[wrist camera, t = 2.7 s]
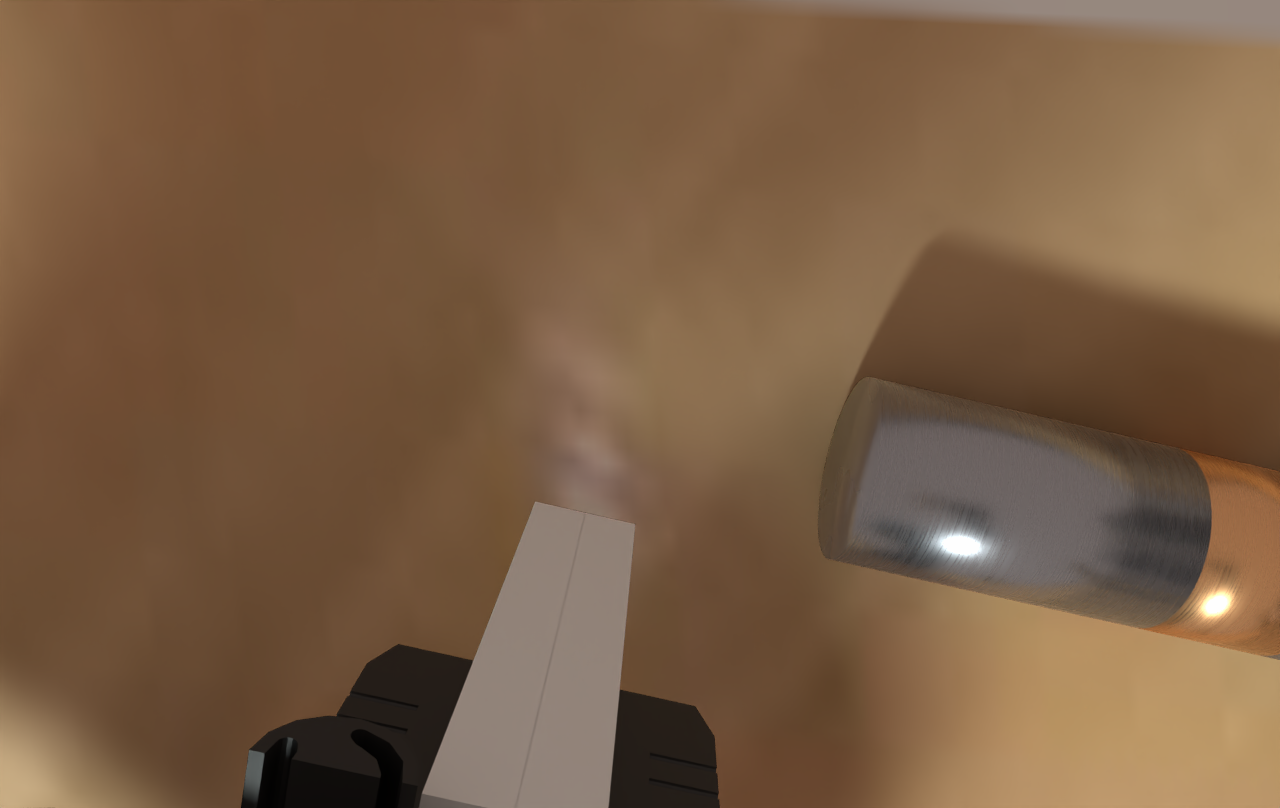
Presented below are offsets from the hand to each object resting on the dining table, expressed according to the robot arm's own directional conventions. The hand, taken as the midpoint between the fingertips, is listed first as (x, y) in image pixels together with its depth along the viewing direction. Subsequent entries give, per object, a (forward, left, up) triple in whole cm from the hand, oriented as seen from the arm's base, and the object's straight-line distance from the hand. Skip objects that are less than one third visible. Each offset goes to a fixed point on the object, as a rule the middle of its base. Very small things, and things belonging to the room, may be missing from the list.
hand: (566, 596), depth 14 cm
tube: (+15, 0, -11) cm, 18 cm away
